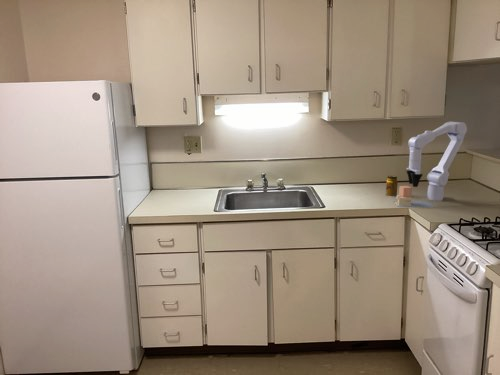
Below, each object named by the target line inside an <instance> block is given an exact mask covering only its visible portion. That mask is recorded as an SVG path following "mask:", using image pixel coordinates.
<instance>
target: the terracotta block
mask: <svg viewBox="0 0 500 375" xmlns="http://www.w3.org/2000/svg"><path fill="white" fill-rule="evenodd" d="M412 189H413V187H412V186H409V185H399V190H398V192H399V193H398V195H399V196H402V197H411V198H412V193H413V190H412Z"/></svg>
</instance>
